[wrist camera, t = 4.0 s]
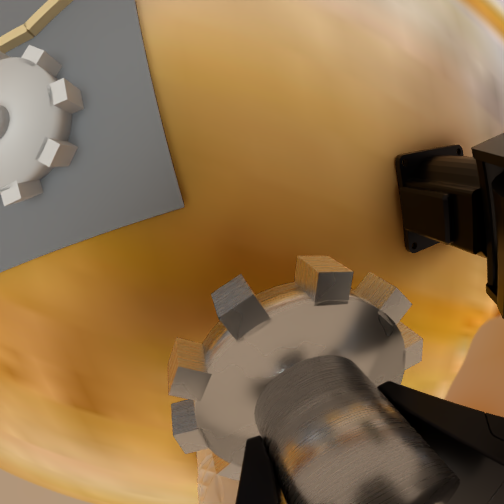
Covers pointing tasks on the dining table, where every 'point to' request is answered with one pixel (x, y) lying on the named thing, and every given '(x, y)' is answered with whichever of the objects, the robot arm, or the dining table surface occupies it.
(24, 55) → the carrier plate
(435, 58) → the dining table surface
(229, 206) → the dining table surface
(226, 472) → the gear
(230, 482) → the white cup
